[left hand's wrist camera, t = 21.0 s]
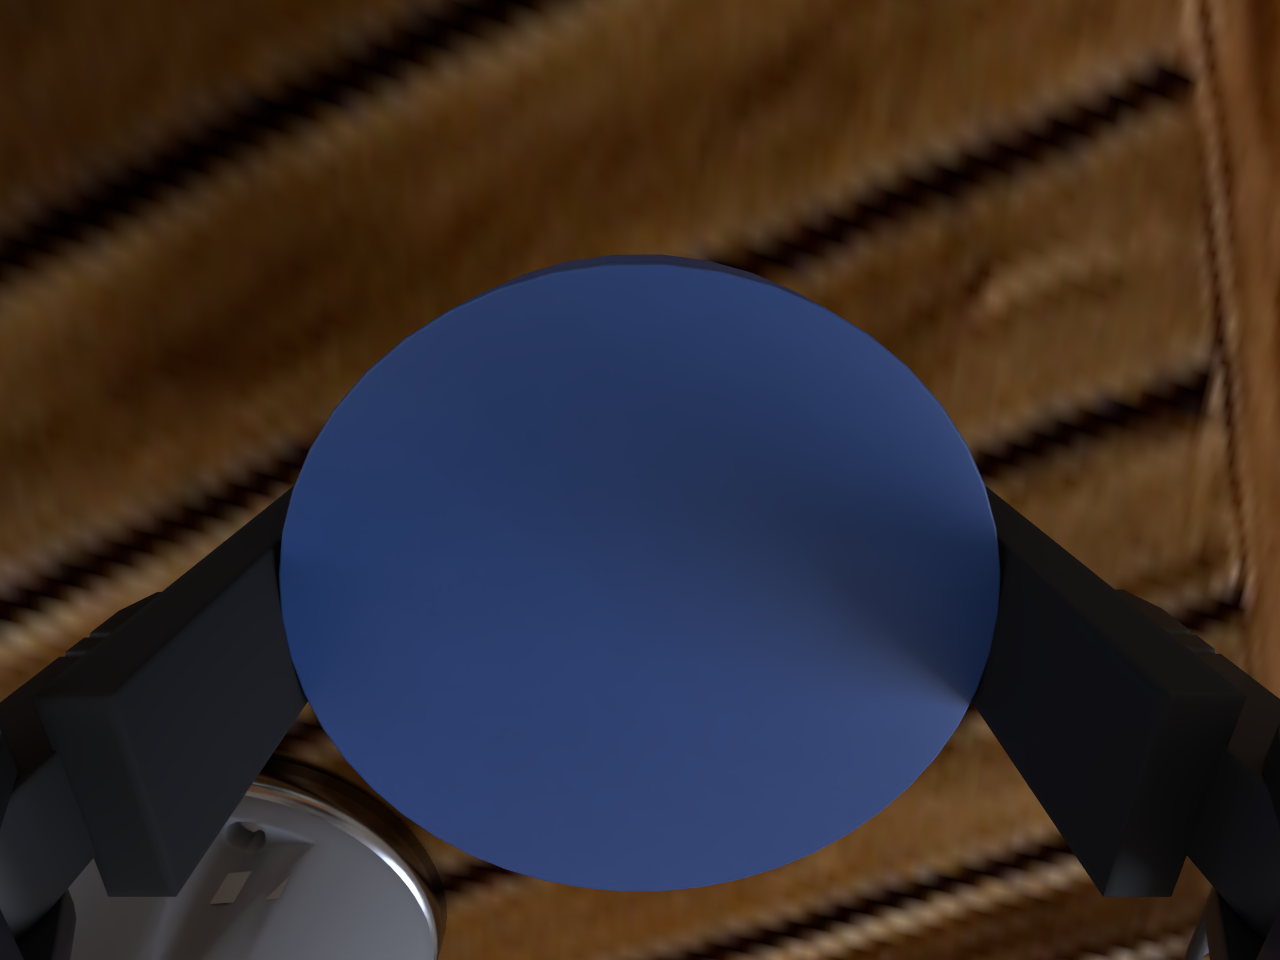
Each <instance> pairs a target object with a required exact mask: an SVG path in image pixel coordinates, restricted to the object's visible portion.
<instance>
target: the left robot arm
mask: <svg viewBox="0 0 1280 960" xmlns="http://www.w3.org/2000/svg"><path fill="white" fill-rule="evenodd" d="M294 486H295V485H294ZM294 486H293V487H292V488H291V489H289V490H288V491H287V492H286V493H284V494H283V495H282V496H281V497H280V498H278V499H277V500H276V501H275V502H273V503H272V504H271V505H270V506H268V507H267V508H266V509H265V510H263V511H262V512H261V513H260V514H258V515H257V516H256V517H255V518H253V519H252V520H251V521H250V522H248V523H247V524H246V525H245V526H243V527H242V528H241V529H240V530H238V531H237V532H236V533H235V534H233V535H232V536H231V537H230V538H228V539H227V540H226V541H225V542H223V543H222V544H221V545H220V546H219V547H217V548H216V549H215V550H214V551H212V552H211V553H210V554H209V555H207V556H206V557H205V558H204V559H202V560H201V561H200V562H199V563H197V564H196V565H195V566H194V567H192V568H191V569H190V570H189V571H187V572H186V573H185V574H184V575H182V576H181V577H180V578H179V579H177V580H176V581H175V582H174V583H172V584H171V585H170V586H169V587H167V588H166V589H165V590H164V591H163V592H157V593H155V594H152V595H150V596H148V597H146V598H144V599H142V600H140V601H138V602H136V603H134V604H132V605H130V606H128V607H126V608H124V609H122V610H120V611H118V612H117V613H116V614H114V615H113V616H112V617H110V618H109V619H108V620H107V621H105V622H104V623H103V624H101V625H100V626H99V627H97V628H96V629H95V630H94V631H92V632H91V633H90V637H89V638H83V639H82V640H81V641H79V642H78V643H77V644H75V645H74V646H73V647H72V648H70V649H69V650H68V651H66V655H65V657H59V658H57V659H56V660H55V661H53V662H52V663H51V664H50V665H48V666H47V667H46V668H44V669H43V670H42V671H41V672H39V673H38V674H37V675H35V676H34V677H33V678H32V679H30V680H29V681H28V682H26V683H25V684H24V685H22V686H21V687H20V688H19V689H17V690H16V691H15V692H13V693H12V694H11V695H10V696H8V697H7V698H6V699H4V700H3V701H2V702H0V960H438V957H439V953H440V949H441V945H442V942H443V938H444V934H445V929H446V919H447V912H446V900H445V894H444V890H443V886H442V883H441V880H440V877H439V875H438V873H437V870H436V868H435V866H434V864H433V862H432V860H431V859H430V857H429V855H428V854H427V852H426V850H425V849H424V848H423V846H422V845H421V844H420V842H419V841H418V840H417V838H416V837H415V836H414V835H413V834H412V833H411V832H410V831H409V830H408V828H407V827H406V826H405V825H404V824H403V823H402V822H400V821H399V820H398V819H397V818H396V817H395V816H394V815H393V814H392V813H390V812H389V811H388V810H387V809H385V808H384V807H383V806H381V805H380V804H379V803H377V802H376V801H374V800H373V799H371V798H370V797H368V796H367V795H365V794H363V793H362V792H360V791H359V790H357V789H355V788H353V787H351V786H349V785H347V784H345V783H344V782H342V781H339V780H337V779H335V778H333V777H330V776H328V775H326V774H323V773H321V772H318V771H315V770H312V769H309V768H307V767H304V766H300V765H297V764H293V763H289V762H286V761H281V760H276V759H271V758H270V757H271V755H272V754H273V752H274V751H275V749H276V748H277V746H278V745H279V743H280V742H281V740H282V739H283V737H284V736H285V734H286V733H287V731H288V730H289V728H290V727H291V726H292V724H293V723H294V721H295V720H296V718H297V717H298V715H299V714H300V712H301V711H302V709H303V708H304V706H305V705H306V703H307V702H308V700H307V698H306V696H305V694H304V692H303V689H302V687H301V684H300V681H299V679H298V676H297V673H296V671H295V668H294V665H293V663H292V660H291V656H290V651H289V647H288V642H287V637H286V633H285V628H284V623H283V619H282V613H281V603H280V588H279V565H280V554H281V542H282V532H283V528H284V524H285V519H286V515H287V511H288V507H289V503H290V499H291V495H292V491H293V488H294ZM985 487H986V486H985ZM986 491H987V495H988V499H989V503H990V506H991V510H992V514H993V518H994V521H995V525H996V531H997V540H998V550H999V560H1000V570H1001V575H1000V594H999V612H998V617H997V621H996V626H995V631H994V636H993V640H992V645H991V650H990V654H989V658H988V661H987V663H986V666H985V669H984V672H983V675H982V677H981V680H980V683H979V686H978V688H977V691H976V693H975V695H974V697H973V699H972V700H971V701H972V702H973V704H974V705H975V707H976V708H977V710H978V711H979V713H980V714H981V716H982V717H983V719H984V720H985V722H986V723H987V725H988V726H989V728H990V729H991V731H992V732H993V734H994V735H995V737H996V738H997V740H998V741H999V743H1000V744H1001V746H1002V747H1003V748H1004V750H1005V751H1006V753H1007V754H1008V756H1009V757H1010V759H1011V760H1012V762H1013V763H1014V765H1015V766H1016V768H1017V769H1018V771H1019V772H1020V774H1021V775H1022V777H1023V778H1024V780H1025V781H1026V783H1027V784H1028V786H1029V787H1030V789H1031V790H1032V792H1033V793H1034V795H1035V796H1036V798H1037V799H1038V801H1039V802H1040V804H1041V805H1042V806H1043V808H1044V809H1045V811H1046V812H1047V814H1048V815H1049V817H1050V818H1051V820H1052V821H1053V823H1054V824H1055V826H1056V827H1057V829H1058V830H1059V832H1060V833H1061V835H1062V836H1063V838H1064V839H1065V841H1066V842H1067V844H1068V845H1069V847H1070V848H1071V850H1072V851H1073V853H1074V854H1075V856H1076V857H1077V859H1078V860H1079V861H1080V863H1081V864H1082V866H1083V867H1084V869H1085V870H1086V872H1087V873H1088V875H1089V876H1090V878H1091V879H1092V881H1093V882H1094V884H1095V885H1096V887H1097V888H1098V890H1099V891H1100V893H1101V894H1102V896H1103V897H1171V896H1172V893H1173V890H1174V888H1175V885H1176V882H1177V880H1178V877H1179V874H1180V872H1181V869H1182V867H1183V864H1184V861H1185V859H1186V856H1188V857H1189V858H1190V859H1191V861H1192V862H1193V863H1194V864H1195V865H1196V867H1197V868H1198V869H1199V870H1200V871H1201V872H1202V874H1203V875H1204V876H1205V877H1206V878H1207V880H1208V881H1209V882H1210V883H1211V884H1212V885H1213V887H1212V890H1211V892H1210V895H1209V897H1208V900H1207V902H1206V905H1205V907H1204V910H1203V912H1202V914H1201V917H1200V919H1199V922H1198V924H1197V927H1196V929H1195V932H1194V934H1193V937H1192V939H1191V942H1190V944H1189V946H1188V949H1187V952H1186V957H1185V960H1201V959H1202V957H1203V955H1206V954H1208V953H1209V956H1210V960H1280V699H1279V698H1278V697H1276V696H1275V695H1274V694H1272V693H1271V692H1270V691H1268V690H1267V689H1266V688H1265V687H1263V686H1262V685H1261V684H1259V683H1258V682H1257V681H1255V680H1254V679H1253V678H1252V677H1250V676H1249V675H1248V674H1246V673H1245V672H1244V671H1242V670H1241V669H1240V668H1238V667H1237V666H1236V665H1235V664H1233V663H1232V662H1231V661H1229V660H1228V659H1227V658H1225V657H1224V656H1223V655H1222V654H1215V652H1214V650H1215V649H1214V648H1212V647H1211V646H1210V645H1209V644H1207V643H1206V642H1205V641H1203V640H1202V639H1201V638H1199V637H1198V636H1197V635H1191V634H1190V630H1189V629H1188V628H1186V627H1185V626H1184V625H1182V624H1181V623H1180V622H1179V621H1177V620H1176V619H1175V618H1173V617H1172V616H1171V615H1169V614H1168V613H1167V612H1166V611H1164V610H1163V609H1162V608H1160V607H1158V606H1156V605H1153V604H1151V603H1149V602H1147V601H1145V600H1143V599H1141V598H1139V597H1137V596H1135V595H1133V594H1131V593H1129V592H1127V591H1125V590H1114V589H1113V588H1112V587H1111V586H1110V585H1108V584H1107V583H1106V582H1105V581H1103V580H1102V579H1101V578H1100V577H1098V576H1097V575H1096V574H1095V573H1093V572H1092V571H1091V570H1090V569H1088V568H1087V567H1086V566H1085V565H1083V564H1082V563H1081V562H1080V561H1078V560H1077V559H1076V558H1075V557H1073V556H1072V555H1071V554H1070V553H1068V552H1067V551H1066V550H1065V549H1063V548H1062V547H1061V546H1060V545H1058V544H1057V543H1056V542H1055V541H1054V540H1052V539H1051V538H1050V537H1049V536H1047V535H1046V534H1045V533H1044V532H1042V531H1041V530H1040V529H1039V528H1037V527H1036V526H1035V525H1034V524H1032V523H1031V522H1030V521H1029V520H1027V519H1026V518H1025V517H1024V516H1022V515H1021V514H1020V513H1019V512H1017V511H1016V510H1015V509H1014V508H1012V507H1011V506H1010V505H1009V504H1007V503H1006V502H1005V501H1004V500H1002V499H1001V498H1000V497H999V496H998V495H996V494H995V493H994V492H993V491H991V490H990V489H989V488H988V487H986Z"/></svg>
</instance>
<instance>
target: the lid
mask: <svg viewBox="0 0 1280 960" xmlns="http://www.w3.org/2000/svg"><path fill="white" fill-rule="evenodd" d="M1000 575H1001V570H1000V560H999V550H998V540H997V531H996V525H995V521H994V518H993V514H992V510H991V506H990V503H989V499H988V495H987V491H986V487H985V484H984V482H983V480H982V478H981V475H980V473H979V471H978V469H977V466H976V464H975V462H974V459H973V457H972V455H971V453H970V450H969V448H968V446H967V444H966V442H965V441H964V439H963V438H962V436H961V434H960V433H959V431H958V430H957V428H956V427H955V425H954V423H953V422H952V420H951V419H950V417H949V416H948V414H947V413H946V411H945V409H944V408H943V406H942V405H941V404H940V402H939V401H938V400H937V399H936V398H935V397H934V396H933V395H932V393H931V392H930V391H929V390H928V389H927V388H926V387H925V385H924V384H923V383H922V382H921V381H920V380H919V379H918V378H917V376H916V375H915V374H914V373H913V372H912V371H911V370H910V369H909V367H907V366H906V365H905V364H904V363H903V362H901V361H900V360H899V359H898V358H897V357H895V356H894V355H893V354H892V353H891V352H889V351H888V350H887V349H886V348H885V347H883V346H882V345H881V344H880V343H879V342H877V341H876V340H875V339H874V338H873V337H872V336H870V335H869V334H867V333H866V332H864V331H862V330H861V329H859V328H857V327H856V326H854V325H853V324H851V323H849V322H848V321H846V320H844V319H843V318H841V317H840V316H838V315H836V314H835V313H833V312H831V311H830V310H828V309H827V308H825V307H823V306H821V305H819V304H817V303H815V302H814V301H812V300H810V299H808V298H806V297H804V296H802V295H800V294H798V293H797V292H795V291H792V290H790V289H788V288H786V287H783V286H781V285H779V284H776V283H774V282H772V281H769V280H767V279H765V278H762V277H760V276H758V275H756V274H753V273H750V272H746V271H743V270H739V269H736V268H732V267H728V266H725V265H721V264H717V263H714V262H710V261H705V260H698V259H690V258H683V257H675V256H667V255H610V256H603V257H596V258H589V259H583V260H576V261H569V262H565V263H561V264H558V265H554V266H551V267H547V268H544V269H540V270H537V271H534V272H530V273H527V274H523V275H521V276H519V277H516V278H514V279H512V280H510V281H508V282H505V283H503V284H501V285H499V286H496V287H494V288H492V289H490V290H487V291H485V292H483V293H481V294H479V295H477V296H475V297H473V298H471V299H469V300H468V301H466V302H464V303H462V304H460V305H458V306H456V307H454V308H452V309H450V310H449V311H447V312H446V313H444V314H442V315H441V316H439V317H438V318H436V319H435V320H433V321H431V322H430V323H428V324H427V325H425V326H423V327H422V328H420V329H419V330H417V331H416V332H414V333H412V334H411V335H409V336H408V337H406V338H405V339H404V340H402V341H401V342H400V343H399V344H398V345H397V346H395V347H394V348H393V349H392V350H391V351H390V352H389V353H387V354H386V355H385V356H384V357H383V358H382V359H380V360H379V361H378V362H377V363H376V364H375V365H373V366H372V367H371V368H370V369H369V370H368V371H367V372H366V373H365V374H364V375H363V376H362V377H361V379H360V380H359V381H358V382H357V383H356V384H355V386H354V387H353V388H352V389H351V390H350V391H349V393H348V394H347V395H346V396H345V397H344V398H343V400H342V401H341V402H340V403H339V404H338V405H337V407H336V408H335V409H334V411H333V412H332V414H331V416H330V417H329V419H328V421H327V422H326V424H325V425H324V427H323V429H322V430H321V432H320V433H319V435H318V437H317V438H316V440H315V441H314V443H313V445H312V446H311V448H310V450H309V453H308V455H307V457H306V460H305V462H304V464H303V467H302V469H301V472H300V474H299V476H298V479H297V481H296V483H295V486H294V488H293V491H292V495H291V499H290V503H289V507H288V511H287V515H286V519H285V524H284V528H283V532H282V542H281V554H280V565H279V588H280V603H281V613H282V619H283V623H284V628H285V633H286V637H287V642H288V647H289V651H290V656H291V660H292V663H293V665H294V668H295V671H296V673H297V676H298V679H299V681H300V684H301V687H302V689H303V692H304V694H305V696H306V698H307V700H308V702H309V704H310V705H311V707H312V709H313V711H314V713H315V715H316V716H317V718H318V720H319V722H320V724H321V726H322V728H323V729H324V731H325V732H326V733H327V735H328V736H329V737H330V739H331V740H332V742H333V743H334V744H335V746H336V747H337V748H338V750H339V751H340V753H341V754H342V755H343V757H344V758H345V760H346V761H347V762H348V763H349V764H350V765H351V766H352V767H353V768H354V769H355V770H356V772H357V773H358V774H359V775H360V776H361V777H362V778H363V779H364V780H365V781H366V782H367V783H368V784H369V786H370V787H371V788H372V789H373V790H374V791H376V792H377V793H378V794H379V795H380V796H382V797H383V798H384V799H385V800H386V801H387V802H389V803H390V804H391V805H392V806H393V807H395V808H396V809H397V810H398V811H399V812H400V813H402V814H403V815H404V816H406V817H407V818H409V819H410V820H412V821H413V822H415V823H416V824H418V825H419V826H421V827H422V828H424V829H425V830H427V831H428V832H430V833H431V834H432V835H434V836H435V837H437V838H439V839H441V840H443V841H445V842H447V843H449V844H451V845H453V846H454V847H456V848H458V849H460V850H462V851H464V852H466V853H468V854H470V855H472V856H474V857H477V858H479V859H482V860H484V861H487V862H489V863H492V864H494V865H497V866H499V867H502V868H504V869H507V870H510V871H514V872H517V873H521V874H524V875H528V876H531V877H534V878H538V879H541V880H545V881H550V882H556V883H561V884H566V885H572V886H577V887H582V888H593V889H604V890H615V891H666V890H676V889H686V888H696V887H703V886H709V885H714V884H719V883H724V882H729V881H734V880H739V879H742V878H746V877H749V876H752V875H756V874H759V873H762V872H766V871H769V870H772V869H776V868H778V867H781V866H783V865H785V864H788V863H790V862H793V861H795V860H798V859H800V858H802V857H805V856H807V855H810V854H812V853H814V852H816V851H818V850H820V849H822V848H823V847H825V846H827V845H829V844H831V843H833V842H834V841H836V840H838V839H840V838H842V837H844V836H846V835H847V834H849V833H850V832H852V831H853V830H855V829H856V828H858V827H859V826H861V825H862V824H863V823H865V822H866V821H868V820H869V819H871V818H872V817H874V816H875V815H877V814H878V813H879V812H881V811H882V810H883V809H884V808H885V807H886V806H888V805H889V804H890V803H891V802H892V801H893V800H894V799H896V798H897V797H898V796H899V795H900V794H901V793H903V792H904V791H905V790H906V789H907V788H908V787H909V786H910V785H911V784H912V783H913V782H914V781H915V780H916V779H917V778H918V777H919V775H920V774H921V773H922V772H923V771H924V770H925V769H926V768H927V767H928V766H929V764H930V763H931V762H932V761H933V760H934V759H935V758H936V756H937V755H938V754H939V752H940V751H941V749H942V748H943V747H944V745H945V744H946V742H947V741H948V739H949V738H950V737H951V735H952V734H953V732H954V731H955V730H956V728H957V727H958V725H959V723H960V721H961V719H962V718H963V716H964V714H965V712H966V710H967V708H968V706H969V704H970V702H971V700H972V699H973V697H974V695H975V693H976V691H977V688H978V686H979V683H980V680H981V677H982V675H983V672H984V669H985V666H986V663H987V661H988V658H989V654H990V650H991V645H992V640H993V636H994V631H995V626H996V621H997V617H998V612H999V594H1000Z"/></svg>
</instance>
